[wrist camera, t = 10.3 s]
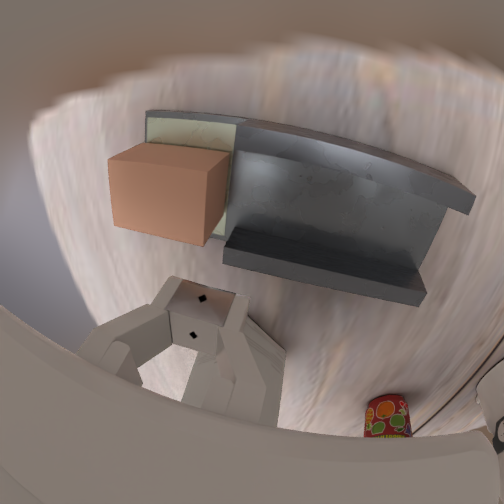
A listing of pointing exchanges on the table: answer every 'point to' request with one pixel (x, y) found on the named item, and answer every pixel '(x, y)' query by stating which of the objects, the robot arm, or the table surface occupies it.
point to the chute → (319, 204)
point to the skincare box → (267, 361)
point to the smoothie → (387, 418)
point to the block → (169, 191)
